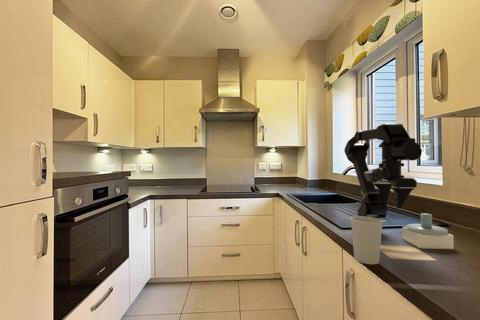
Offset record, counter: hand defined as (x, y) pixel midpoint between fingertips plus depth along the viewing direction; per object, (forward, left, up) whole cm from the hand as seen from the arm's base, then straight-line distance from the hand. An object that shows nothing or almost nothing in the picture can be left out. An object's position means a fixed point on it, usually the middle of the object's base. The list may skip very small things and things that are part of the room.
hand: (391, 205), depth 88 cm
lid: (+2, +10, -8) cm, 13 cm away
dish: (+2, +10, -13) cm, 17 cm away
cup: (+18, -15, -13) cm, 27 cm away
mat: (+11, -2, -13) cm, 17 cm away
